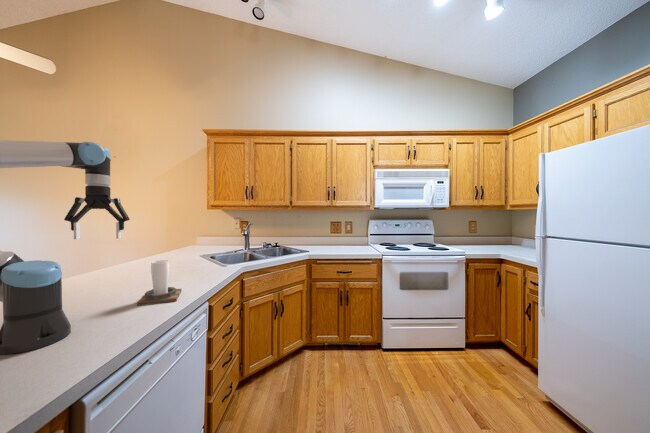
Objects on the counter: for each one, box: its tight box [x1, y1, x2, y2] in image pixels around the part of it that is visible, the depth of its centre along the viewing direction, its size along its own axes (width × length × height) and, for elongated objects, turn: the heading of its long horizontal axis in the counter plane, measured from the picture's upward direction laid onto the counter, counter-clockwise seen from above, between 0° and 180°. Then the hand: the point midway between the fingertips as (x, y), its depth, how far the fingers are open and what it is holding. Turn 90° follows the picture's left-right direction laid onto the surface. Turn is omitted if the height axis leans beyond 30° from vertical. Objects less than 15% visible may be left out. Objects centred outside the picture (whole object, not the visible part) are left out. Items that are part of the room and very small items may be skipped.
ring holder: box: [136, 286, 182, 307], centre depth 112 cm, size 14×14×3 cm
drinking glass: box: [150, 259, 170, 295], centre depth 112 cm, size 7×7×15 cm
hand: (98, 238), depth 102 cm, fingers open, 13 cm apart
